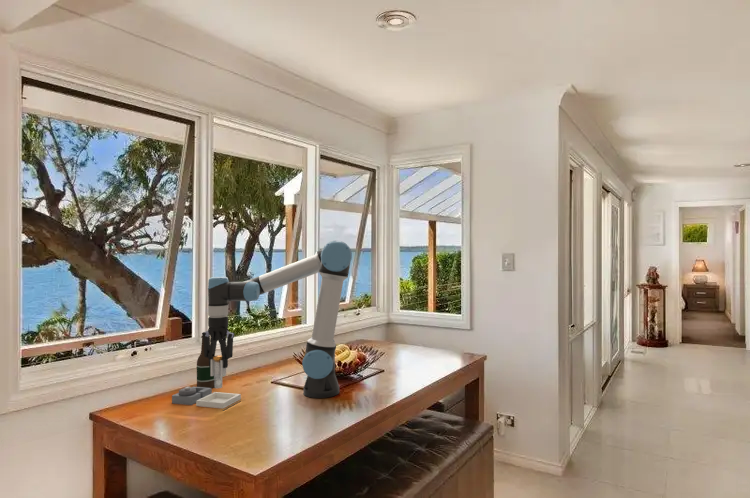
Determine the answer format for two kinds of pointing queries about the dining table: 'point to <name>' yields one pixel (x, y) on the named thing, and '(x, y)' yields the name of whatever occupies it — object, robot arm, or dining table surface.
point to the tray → (219, 400)
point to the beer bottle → (204, 370)
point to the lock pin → (217, 371)
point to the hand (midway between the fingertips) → (218, 375)
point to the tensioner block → (190, 395)
